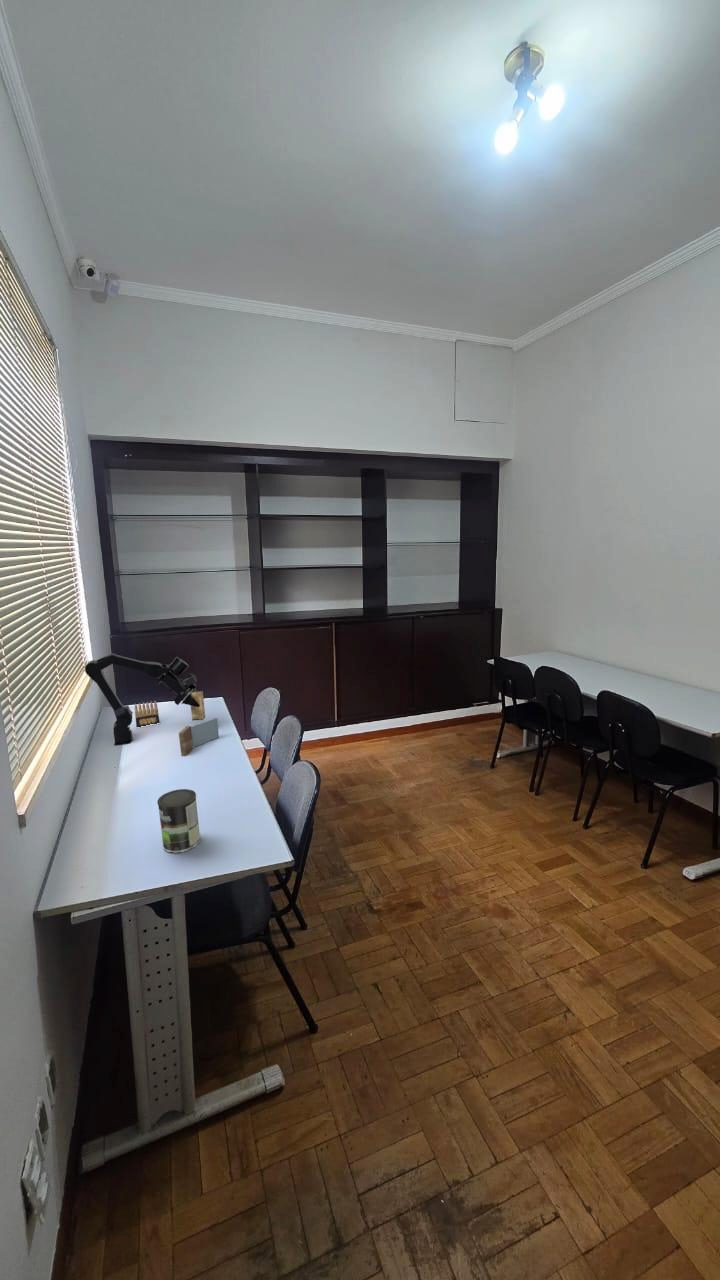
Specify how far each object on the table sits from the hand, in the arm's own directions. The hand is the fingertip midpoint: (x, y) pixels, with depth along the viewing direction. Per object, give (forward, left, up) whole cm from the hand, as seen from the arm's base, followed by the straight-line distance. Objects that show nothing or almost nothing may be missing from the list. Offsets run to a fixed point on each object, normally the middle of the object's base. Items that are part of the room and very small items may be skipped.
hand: (200, 704), depth 236 cm
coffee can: (-3, -95, -13) cm, 96 cm away
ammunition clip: (-26, +20, -13) cm, 36 cm away
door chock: (-1, 0, -7) cm, 7 cm away
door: (+1, -15, -13) cm, 19 cm away
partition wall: (-6, -23, -13) cm, 27 cm away
